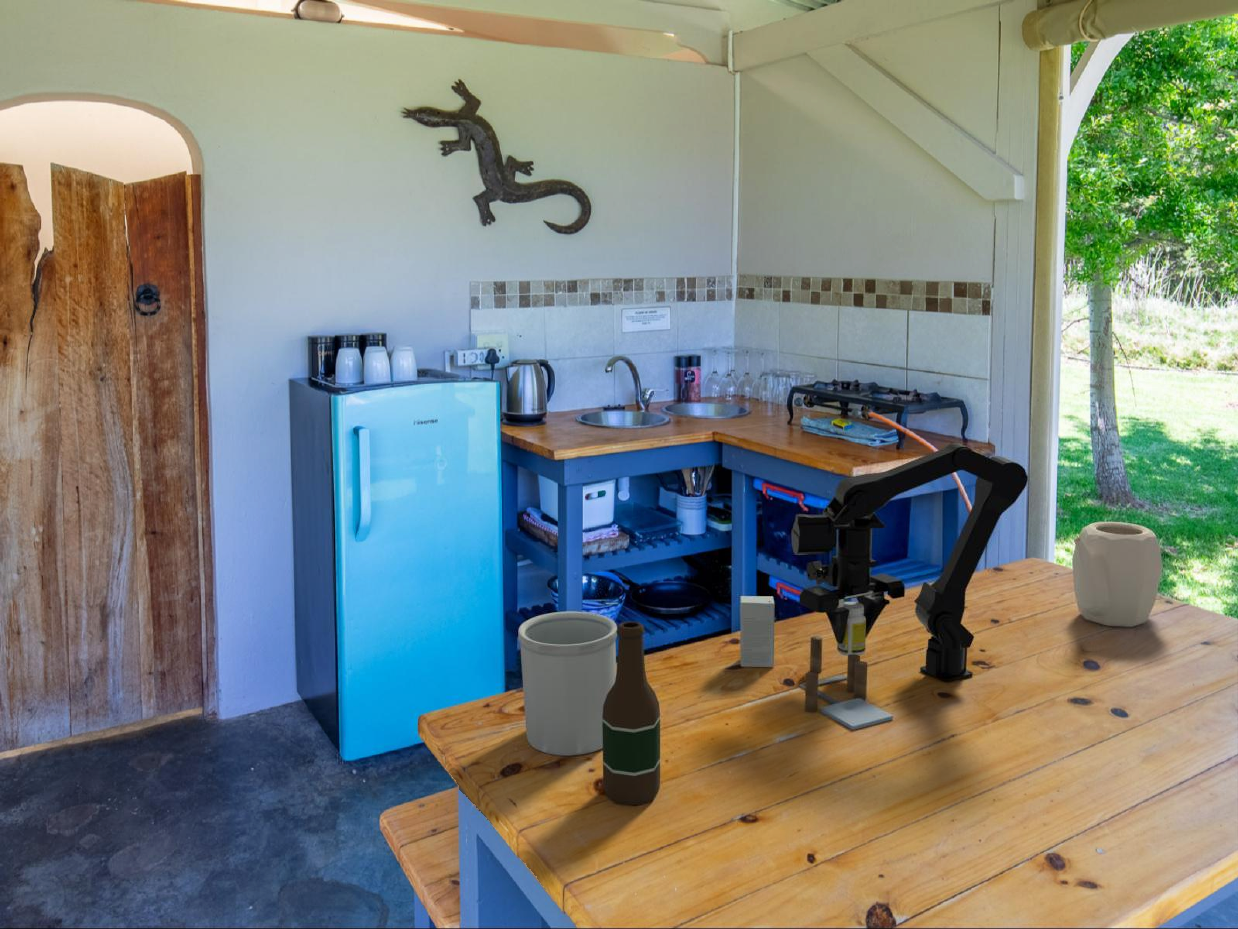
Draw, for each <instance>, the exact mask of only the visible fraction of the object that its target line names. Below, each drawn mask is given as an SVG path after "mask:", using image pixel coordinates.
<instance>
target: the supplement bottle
mask: <svg viewBox="0 0 1238 929" xmlns="http://www.w3.org/2000/svg"><path fill="white" fill-rule="evenodd" d="M844 608H847V609H849V616H848V621H847V626H846V631H845V637H844V640H843V643H842V644H839V643H837V642H836V643H837V644H836V646H837V652H838V653H839V654H841V655H843V656H847V657H848V655H850V654H856V655H859V656H862V655H864V654H865V653H866V639H867V637H866V618H865V616H864V615H863V614H864V605H863V604H861V603H858V601H844Z"/></svg>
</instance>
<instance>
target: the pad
mask: <svg viewBox="0 0 1238 929" xmlns="http://www.w3.org/2000/svg"><path fill="white" fill-rule="evenodd" d="M819 712H821V713H823V714H824V715H826V716H828V718H829V717H830V718H831V719H833V720H834V721H836V722H838V723H840V724H842V725H843V726H845V727H847V728H849V729H850V730H852V731H854V730H859V729H861V728H866V727H869V726H873V725H877V724H881V723H885V722H888V721H891V720H894V715H892V714H891V713H889V712H887V711H885V710H883V709H881V708H880V707H877V706H876V705H874V704H872V703H870V702H868V701H866V699H865V700H863V699H861V698H856V699H854V698H853V699H850V700H845V701H840V703H836V704H828V705H823V706H821V707H819Z"/></svg>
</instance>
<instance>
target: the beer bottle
mask: <svg viewBox="0 0 1238 929" xmlns="http://www.w3.org/2000/svg"><path fill="white" fill-rule="evenodd" d="M645 632H646V630H645V627H644V624H642V623H641V622H638V621H623V622H620V624H618V625H617V631H616V633H617V636H618V639H617V640H618V644H617V656H616V679H615V683H614V685H613V686H612V688H611V689H610V691H609V692H608V694H607V696H606V699H605V702H604V705H603V716H602V732H603V748H602V782H603V792H604V794H605V795H606V796H607V797H608V799H609V800H611V802H613V803H614V804H617V805H624V806H631V807H637V806H641V805H643V804H644V805H645V804H647V803H651V802H653V801H654V800H655V798H656V796H657V794H658V792H659V791H660V787H661V712H660V702H659V700H658V696H657V694H656V692H655V690H654V689H653V687H652V686H651V684H649V682H648V680H647V679H648V678H647V674H646V664H645V650H644V649H645V648H644V637H643V636H644V633H645Z"/></svg>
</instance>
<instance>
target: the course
mask: <svg viewBox="0 0 1238 929" xmlns="http://www.w3.org/2000/svg"><path fill="white" fill-rule="evenodd" d="M809 658H810V659H809V671H810V672H806V673H805V682H804V683H800V684H799V687H800V688H802V689H803V690H805V691H804V692H805V695H804V710H805V712H806V713H811V714H812V713H813V714H814V713H818V711H819V710H818V708H819V706H818V705H819V703H818V702H819V700H818V699H821V700H823V701H825V702H827V703H828V704H829V705H832V704H836V703H840V702H841V701H840V700H838V699H837V698H834V697H833V696H831V695H829V694H827V693H825V692H823V690H822V691H821V690H820V689H819V687H821V686H824V685H829V684H833V683H837V682H841V681H846V692H848V693H851V694H852V693H853V699H856V698H861V699H863V700H865V701H866V700H867V689H868V688H867V686H868V662H867V661H862V660H861V655H856V654H850V655H848V656H847V676H846V675H845V674H839V675H838V674H837V675H836V676H835V675H834V676H830V677H826V678H822V679H819V674H818V673H821V672H822V671H823V670H822V668H823V667H822V666H823V665H822V664H823V662H822V661H823V637H822V636H817V635H813V636H810V654H809Z"/></svg>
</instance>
